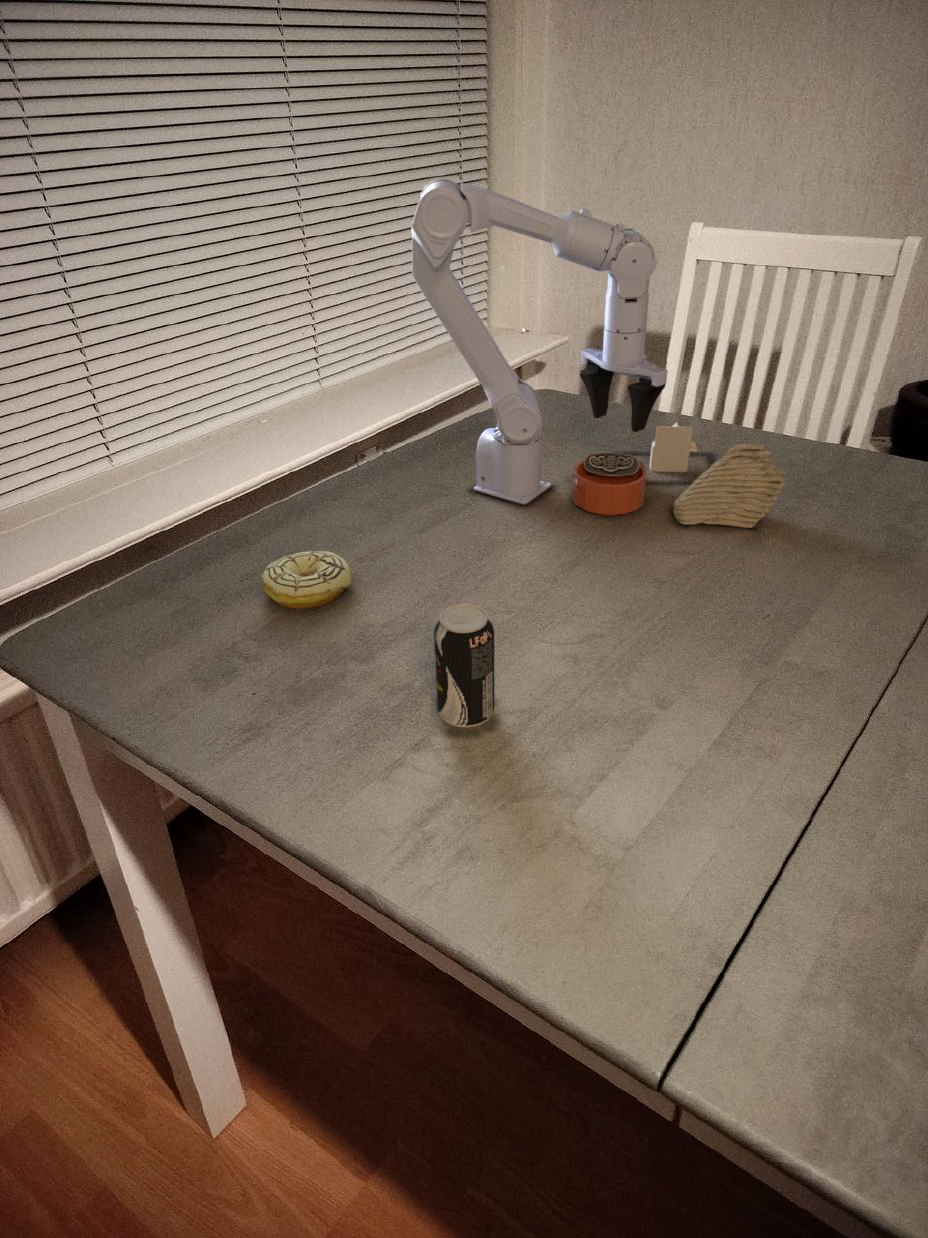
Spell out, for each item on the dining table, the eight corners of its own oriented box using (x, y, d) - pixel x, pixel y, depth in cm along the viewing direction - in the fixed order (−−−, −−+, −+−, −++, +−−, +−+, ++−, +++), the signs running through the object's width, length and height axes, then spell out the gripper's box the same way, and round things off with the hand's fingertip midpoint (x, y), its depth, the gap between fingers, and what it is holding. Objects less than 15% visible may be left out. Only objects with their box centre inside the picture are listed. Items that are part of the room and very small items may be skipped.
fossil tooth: (670, 516, 121) (776, 509, 119) (676, 535, 116) (787, 527, 114) (672, 441, 115) (783, 432, 113) (678, 457, 110) (795, 448, 108)
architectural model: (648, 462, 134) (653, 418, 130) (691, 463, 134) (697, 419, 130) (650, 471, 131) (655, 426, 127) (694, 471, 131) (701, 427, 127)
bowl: (559, 506, 122) (561, 475, 119) (593, 481, 129) (595, 451, 126) (623, 524, 117) (626, 492, 114) (654, 497, 124) (658, 466, 121)
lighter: (585, 450, 121) (597, 456, 131) (582, 473, 122) (595, 478, 131) (640, 453, 119) (648, 459, 128) (637, 477, 119) (646, 481, 129)
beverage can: (439, 695, 86) (434, 599, 79) (494, 695, 86) (494, 599, 79) (436, 732, 81) (431, 633, 75) (494, 733, 81) (494, 633, 74)
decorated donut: (368, 591, 103) (365, 566, 101) (295, 625, 98) (290, 598, 95) (322, 561, 110) (318, 536, 108) (250, 590, 104) (245, 565, 102)
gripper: (686, 331, 110) (675, 428, 118) (606, 313, 120) (601, 403, 128) (650, 342, 107) (642, 442, 114) (571, 322, 116) (569, 415, 124)
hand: (618, 422), depth 121 cm, fingers open, 7 cm apart
